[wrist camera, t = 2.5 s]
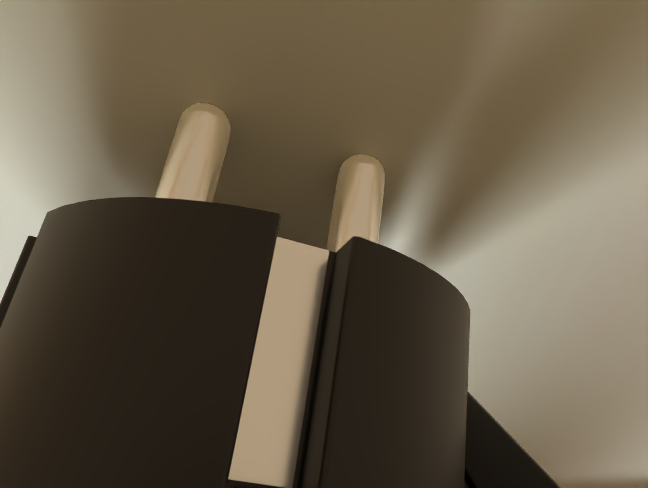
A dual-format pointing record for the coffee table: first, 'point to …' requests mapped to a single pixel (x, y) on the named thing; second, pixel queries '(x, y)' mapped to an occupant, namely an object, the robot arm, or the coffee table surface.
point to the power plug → (228, 343)
